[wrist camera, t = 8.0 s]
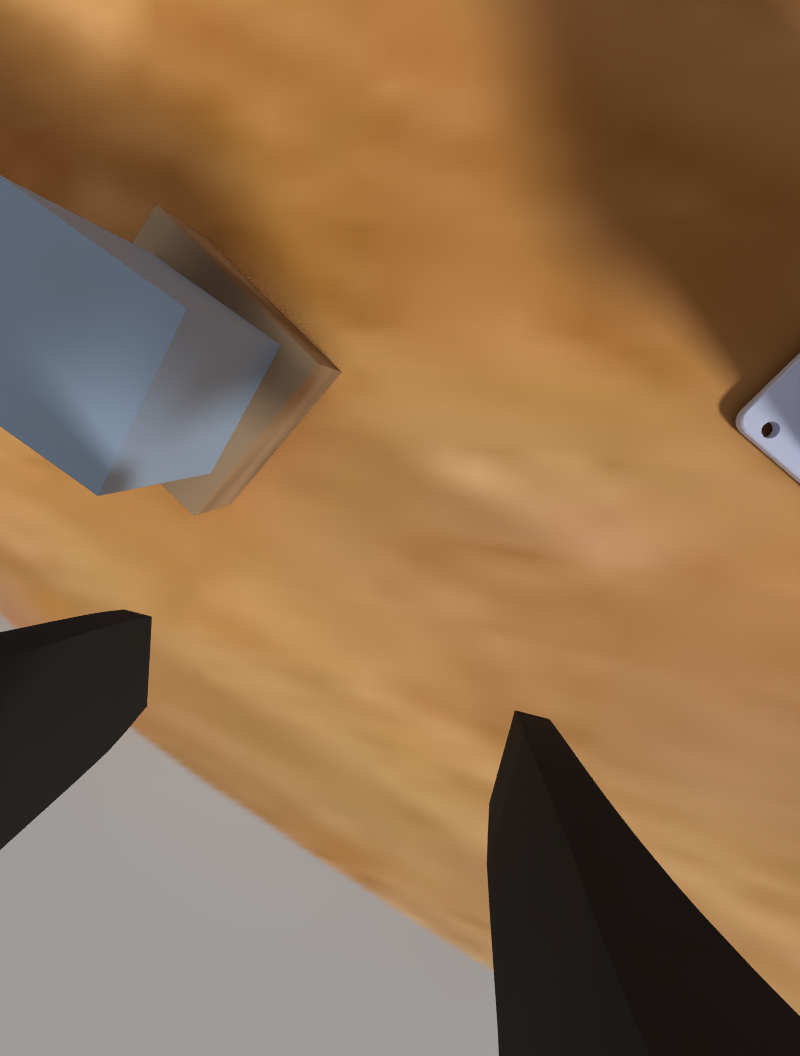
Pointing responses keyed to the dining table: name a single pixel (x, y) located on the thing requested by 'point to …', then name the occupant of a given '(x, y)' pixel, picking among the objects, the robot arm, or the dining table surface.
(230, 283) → the walnut block
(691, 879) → the dining table surface
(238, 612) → the dining table surface
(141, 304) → the blue cube
